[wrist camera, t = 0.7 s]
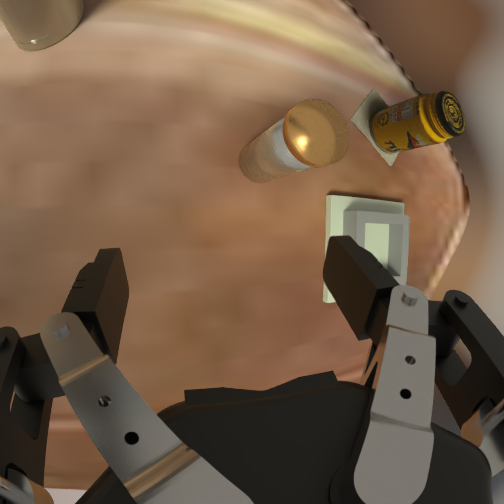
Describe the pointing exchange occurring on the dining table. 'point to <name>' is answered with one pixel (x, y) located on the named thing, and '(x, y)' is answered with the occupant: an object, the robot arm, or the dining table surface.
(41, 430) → the robot arm
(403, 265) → the dock
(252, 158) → the glass storage jar
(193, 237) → the dining table surface
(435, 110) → the condiment
